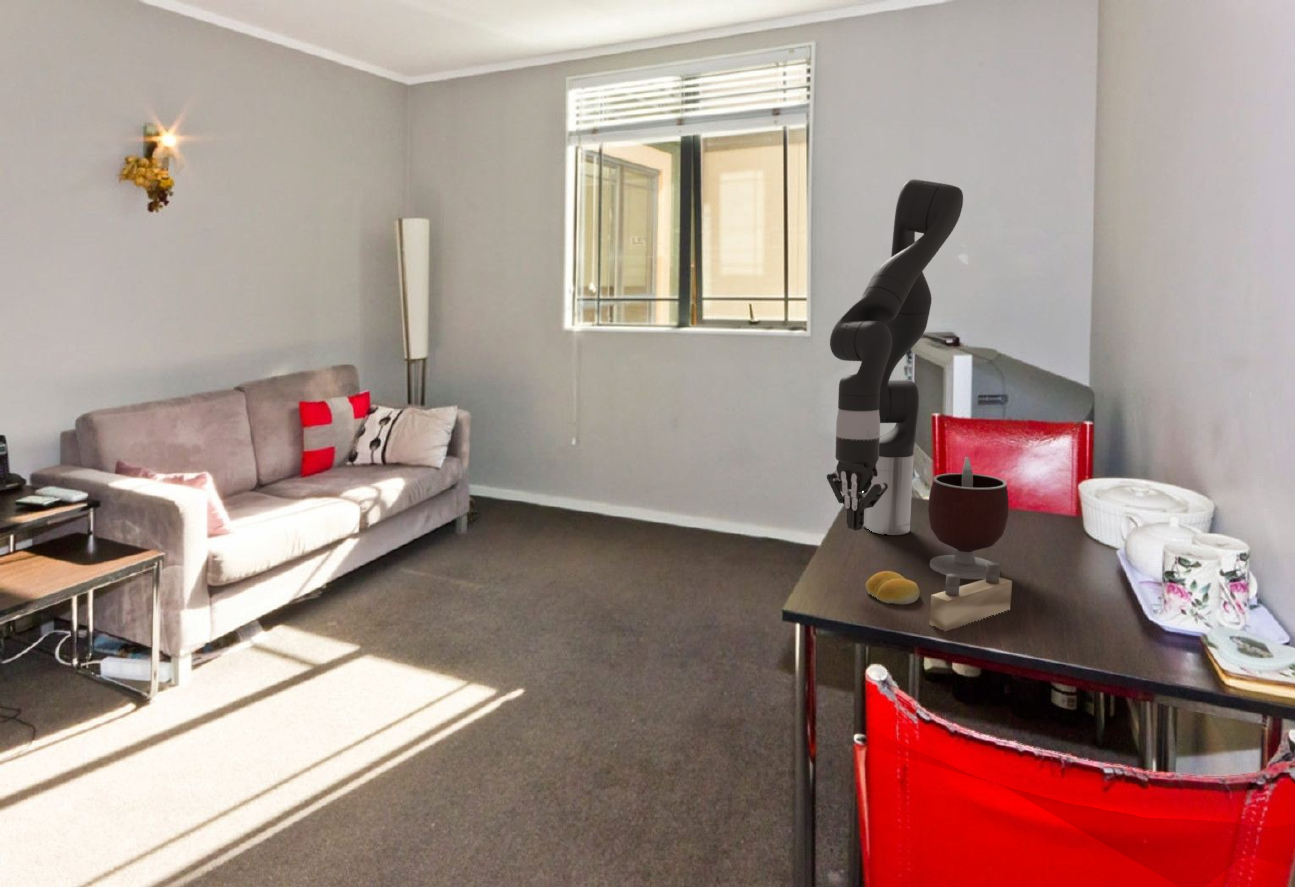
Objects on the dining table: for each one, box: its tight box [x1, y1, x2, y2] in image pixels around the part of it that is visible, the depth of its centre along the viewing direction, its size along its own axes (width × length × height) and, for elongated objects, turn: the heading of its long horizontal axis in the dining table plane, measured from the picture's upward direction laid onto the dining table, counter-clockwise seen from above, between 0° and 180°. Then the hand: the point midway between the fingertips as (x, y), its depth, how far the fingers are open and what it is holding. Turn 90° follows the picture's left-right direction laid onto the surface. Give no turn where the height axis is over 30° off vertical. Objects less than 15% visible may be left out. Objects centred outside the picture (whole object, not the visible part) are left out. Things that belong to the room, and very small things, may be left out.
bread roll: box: [865, 570, 920, 605], centre depth 137 cm, size 8×9×4 cm
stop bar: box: [929, 561, 1013, 632], centre depth 127 cm, size 3×16×8 cm, turn 121°
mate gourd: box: [927, 456, 1010, 580], centre depth 150 cm, size 16×14×20 cm
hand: (854, 528), depth 143 cm, fingers closed
